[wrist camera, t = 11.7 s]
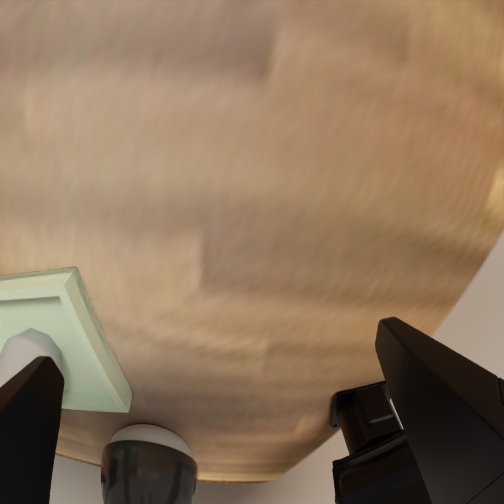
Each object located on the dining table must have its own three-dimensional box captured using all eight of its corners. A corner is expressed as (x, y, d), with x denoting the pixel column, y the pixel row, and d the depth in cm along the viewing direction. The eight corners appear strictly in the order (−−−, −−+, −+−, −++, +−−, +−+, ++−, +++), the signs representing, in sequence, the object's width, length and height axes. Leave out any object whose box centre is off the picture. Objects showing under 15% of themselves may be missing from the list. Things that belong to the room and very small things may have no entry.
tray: (133, 392, 26) (128, 412, 24) (26, 386, 26) (18, 402, 24) (77, 266, 20) (63, 284, 18) (-35, 280, 20) (-49, 295, 17)
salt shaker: (80, 370, 24) (39, 499, 12) (33, 369, 23) (-13, 480, 12) (51, 318, 21) (-16, 456, 9) (4, 320, 21) (-63, 435, 9)
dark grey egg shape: (132, 455, 32) (121, 558, 19) (93, 411, 28) (65, 536, 14) (208, 454, 33) (212, 567, 19) (181, 408, 28) (176, 555, 14)
